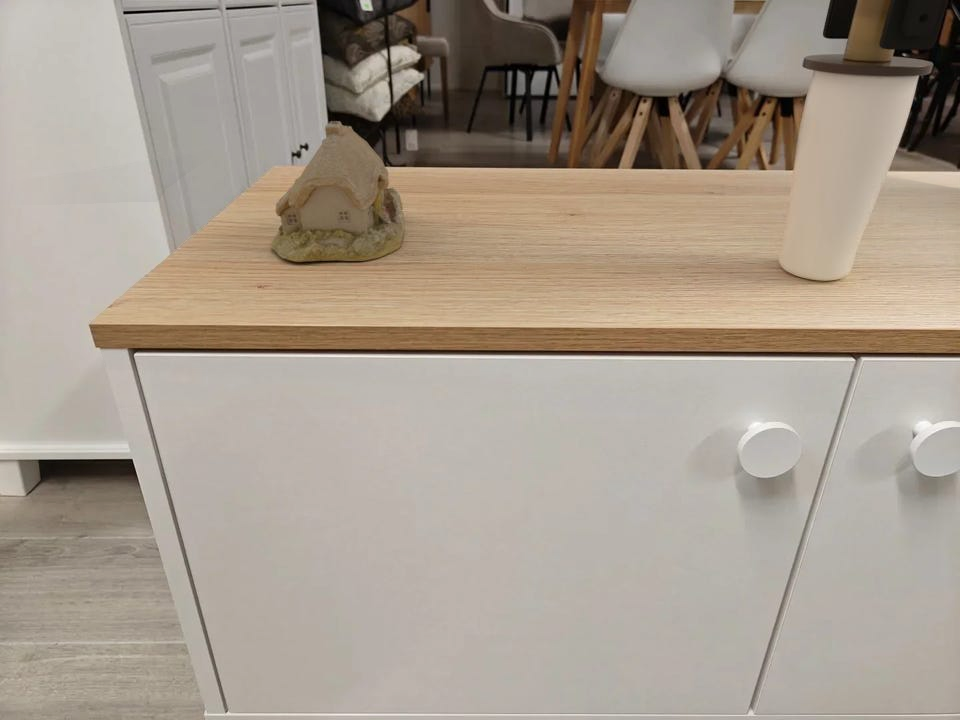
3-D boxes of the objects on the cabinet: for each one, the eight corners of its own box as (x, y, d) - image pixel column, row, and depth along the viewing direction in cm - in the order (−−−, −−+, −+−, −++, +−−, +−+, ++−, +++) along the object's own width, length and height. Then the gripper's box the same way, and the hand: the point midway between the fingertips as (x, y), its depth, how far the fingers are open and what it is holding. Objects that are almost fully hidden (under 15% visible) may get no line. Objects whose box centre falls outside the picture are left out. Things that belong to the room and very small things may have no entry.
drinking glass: (804, 291, 51) (861, 77, 43) (750, 259, 56) (792, 65, 49) (879, 282, 52) (945, 73, 45) (818, 252, 58) (869, 62, 50)
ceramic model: (389, 268, 54) (381, 140, 49) (255, 263, 55) (234, 137, 50) (419, 215, 67) (415, 109, 62) (309, 211, 67) (296, 106, 63)
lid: (829, 60, 52) (851, -32, 49) (946, 69, 47) (979, -32, 44) (782, 68, 47) (803, -33, 44) (907, 79, 42) (940, -34, 39)
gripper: (1168, -378, 30) (1012, 56, 38) (943, -258, 45) (867, 34, 54) (996, -376, 30) (879, 56, 39) (829, -257, 45) (772, 34, 54)
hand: (873, 41), depth 46 cm, fingers open, 7 cm apart
